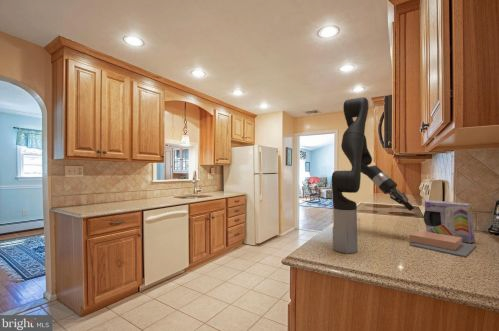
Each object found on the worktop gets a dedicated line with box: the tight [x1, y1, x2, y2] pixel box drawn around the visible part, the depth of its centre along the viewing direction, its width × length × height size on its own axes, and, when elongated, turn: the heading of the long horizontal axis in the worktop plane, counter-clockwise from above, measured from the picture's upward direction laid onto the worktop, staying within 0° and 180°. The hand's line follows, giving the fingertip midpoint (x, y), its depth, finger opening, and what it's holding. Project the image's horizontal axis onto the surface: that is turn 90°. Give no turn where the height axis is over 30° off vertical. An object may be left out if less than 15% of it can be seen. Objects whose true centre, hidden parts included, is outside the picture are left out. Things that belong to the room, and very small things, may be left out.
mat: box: [409, 242, 477, 258], centre depth 102 cm, size 20×18×1 cm
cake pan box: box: [423, 200, 476, 244], centre depth 115 cm, size 19×5×18 cm, turn 23°
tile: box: [408, 230, 463, 251], centre depth 104 cm, size 12×3×16 cm
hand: (412, 209), depth 111 cm, fingers closed
